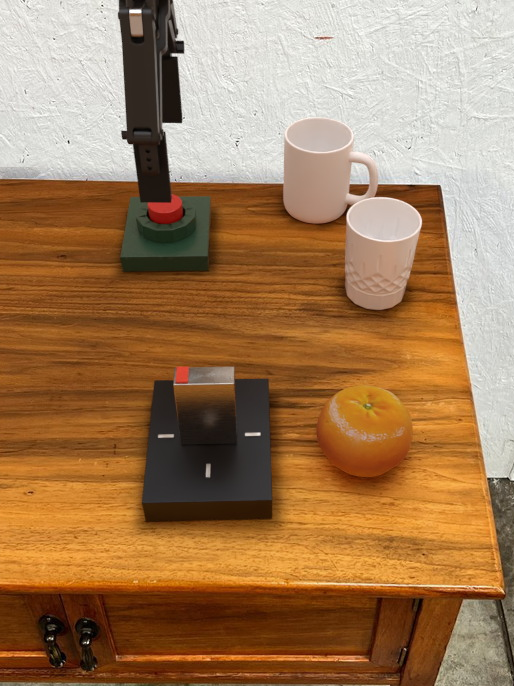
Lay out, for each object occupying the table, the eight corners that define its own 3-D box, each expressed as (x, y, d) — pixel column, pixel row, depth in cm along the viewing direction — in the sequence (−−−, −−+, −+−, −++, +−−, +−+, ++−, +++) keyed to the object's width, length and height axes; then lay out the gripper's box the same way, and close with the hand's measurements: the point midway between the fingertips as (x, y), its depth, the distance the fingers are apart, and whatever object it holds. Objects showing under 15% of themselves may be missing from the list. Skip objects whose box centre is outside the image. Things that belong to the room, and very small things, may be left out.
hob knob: (237, 426, 71) (234, 364, 65) (237, 444, 69) (234, 381, 63) (182, 427, 71) (174, 365, 65) (181, 445, 69) (172, 382, 63)
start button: (150, 205, 93) (149, 193, 92) (183, 205, 93) (182, 192, 92) (147, 225, 90) (146, 213, 89) (182, 225, 91) (181, 212, 89)
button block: (132, 211, 98) (128, 184, 96) (211, 210, 99) (209, 183, 96) (122, 272, 90) (117, 244, 87) (208, 270, 91) (206, 243, 88)
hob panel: (157, 400, 77) (154, 379, 74) (268, 398, 77) (268, 377, 75) (145, 522, 67) (141, 501, 65) (272, 519, 68) (272, 498, 65)
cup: (297, 182, 103) (299, 111, 96) (383, 203, 100) (392, 131, 93) (272, 215, 98) (273, 143, 91) (362, 239, 95) (371, 166, 88)
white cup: (337, 310, 86) (343, 237, 79) (342, 266, 91) (349, 193, 84) (408, 317, 85) (421, 244, 78) (410, 272, 91) (422, 200, 84)
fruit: (427, 397, 73) (393, 365, 67) (423, 486, 70) (387, 461, 63) (346, 405, 77) (307, 375, 71) (339, 489, 74) (298, 465, 68)
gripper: (109, -142, 66) (137, 93, 82) (56, -30, 49) (104, 239, 65) (197, -140, 66) (208, 94, 82) (174, -28, 49) (194, 239, 65)
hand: (162, 158), depth 73 cm, fingers open, 13 cm apart
